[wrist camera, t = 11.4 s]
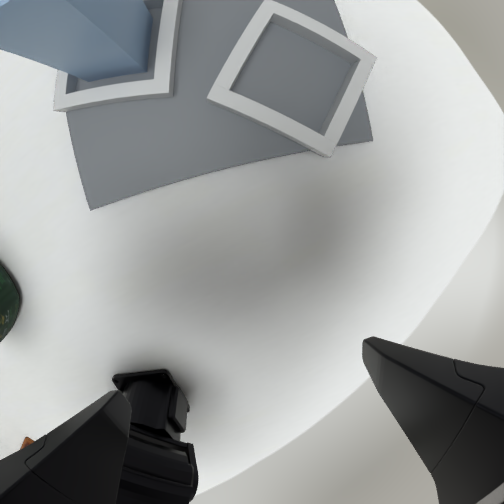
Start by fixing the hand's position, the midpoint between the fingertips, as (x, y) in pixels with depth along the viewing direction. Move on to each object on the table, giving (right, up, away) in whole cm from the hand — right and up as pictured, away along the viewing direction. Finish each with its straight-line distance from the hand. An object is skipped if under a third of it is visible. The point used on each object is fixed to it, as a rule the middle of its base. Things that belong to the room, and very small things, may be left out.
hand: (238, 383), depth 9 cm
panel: (-3, +18, +7) cm, 19 cm away
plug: (-9, +19, +5) cm, 21 cm away
